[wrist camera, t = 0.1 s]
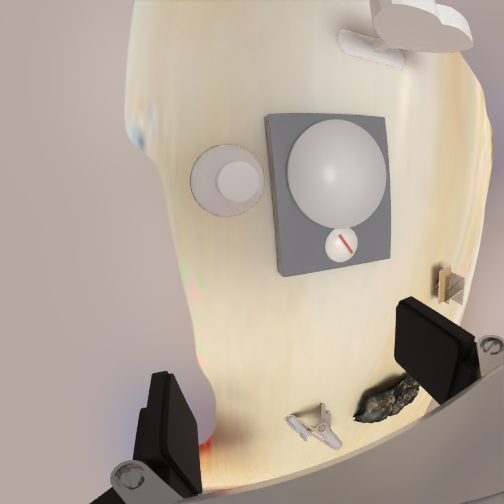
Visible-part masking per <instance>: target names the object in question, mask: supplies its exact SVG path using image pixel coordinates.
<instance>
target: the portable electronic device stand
mask: <svg viewBox="0 0 504 504" xmlns="http://www.w3.org/2000/svg"><path fill="white" fill-rule="evenodd" d="M285 420H286V422H287V424H288V425H289V426H290V427H291V428H292V429H293V430H294V431H296V432H297V433H298V434H299V435H300V437H301V438H302V439H304V440H305V441H307V439H306V438H307V437H308V436H309V435H311V436H314V437H315V438H317V439H318V440H320V441H321V442H323V443H325V444H326V445H328V446H329V447H331V448H333V449H335V450H338V449H340V448H341V447H342V442H341V441H340V440H339V438H338V437H337V436H336V435H335V434H334V432H333V431H332V430H331V429H330V426H331V414H330V412H329V410H328V411H327V413H326V412H325V405H324V404H323V403H322V404H321V424H320V425H318V426H317V427H316V428H313V427H311V426H309V425H308V424H306V423H305V422H303V421H302V420H300V419H299V418H297V417H295V416H294V415H288V416H287V417H286V419H285ZM302 424H303V425H304V426H306V427H307V428H309V429H311V430H312V431H314V432H315V433H317V434H318V435H320V436H322V437H323V438H324V439H325V441H324V440H323V439H321V438H320V437H318V436H316V435H315V434H313V433H312V432H310V431H309V430H307V429H306V428H305V427H304V426H303V425H302Z"/></svg>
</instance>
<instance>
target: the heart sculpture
mask: <svg viewBox="0 0 504 504" xmlns="http://www.w3.org/2000/svg"><path fill="white" fill-rule="evenodd" d="M370 10H371V15H372V21H373V27H374V29H375V31H376V32H377V33H378V35H379V36H380V37H379V38H377V39H376V38H373V37H369V36H366V35H363V34H359V33H356V32H352V31H348V30H345V29H341V31H340V32H339V35H338V38H337V40H338V43H339V45H340V47H341V49H342V51H343V52H344V54H348V55H352V56H356V57H360V58H364V59H367V60H371V61H375V62H378V63H381V64H385V65H388V66H391V67H394V68H397V69H400V70H402V68H403V66H404V60H405V59H404V56H403V54H402V52H401V50H400V49H404V50H412V51H420V52H431V53H453V52H458V51H463V50H466V49H469V48H471V47H473V40H472V36H471V32H470V28H469V25H468V22H467V21H466V20H465V18H464V17H463V16H462V15H461V14H460V13H459V12H457V11H456V10H454V9H453V8H451V7H448V6H444V5H439V4H436V3H435V1H434V0H370Z"/></svg>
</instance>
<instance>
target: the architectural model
mask: <svg viewBox="0 0 504 504" xmlns="http://www.w3.org/2000/svg"><path fill="white" fill-rule="evenodd" d="M438 286H439V289H437V287H438ZM464 286H465V278H463V277H461V276H459V275H457V274H454V273H452V272H451V267H450V266H449V267H447V268H445V269H443V268H440V271H439V283H438V284H437V285H436V286H435V289H437V290H439V292H438V293H437V294H435V295H434V296H435V297H437V298H438V303H441V302H443V301H444V302H446V303H447V304H449V300H451V299H452V300H454V301H456V302H458V303H459V304H461V305H463V296H464ZM447 301H448V302H447Z"/></svg>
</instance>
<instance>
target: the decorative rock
mask: <svg viewBox="0 0 504 504" xmlns="http://www.w3.org/2000/svg"><path fill="white" fill-rule="evenodd" d="M419 386H420V385H419V384H418V383H417V382H416V381H415V380H414V379H413V378H412V377H411V376H410V375H408V376H406V377H405V378H404V380H403V381H400V382H399V384H398V385H397V386H394V387H392V388H390V389H388V391H385V392H381V393H377V394H375V395H372V394H370V395H369V396H368V395H367V396H366V398H365V399H364V401H363V404H362V407H361V409H360V413H361V414H359V415H355V416H353V417H355V420H354V421H357V422H362V423H366V422H368V423H374V422H380V421H382V420H384V419H386V418H387V416H392V415H395V414H398V413H399V412H400V410H402V409H403V407H404V406H406V405H408V404H409V403H412V401H413V400H414V398H415V397H416V396H417V394H418V391H419V388H418V387H419Z"/></svg>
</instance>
